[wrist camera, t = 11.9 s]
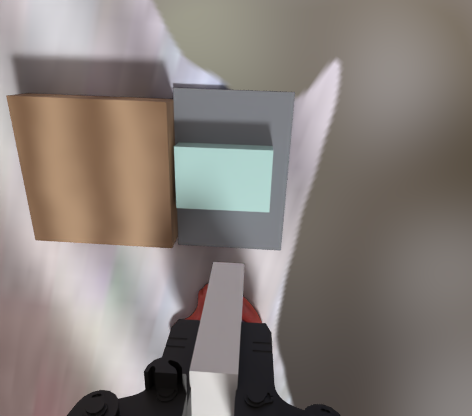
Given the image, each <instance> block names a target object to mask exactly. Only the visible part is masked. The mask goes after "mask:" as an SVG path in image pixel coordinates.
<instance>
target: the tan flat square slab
mask: <svg viewBox="0 0 472 416" xmlns="http://www.w3.org/2000/svg"><path fill="white" fill-rule="evenodd" d="M7 101H8V106H9V111H10V116H11V121H12V126H13V131H14V136H15V141H16V146H17V151H18V156H19V161H20V166H21V170H22V175H23V180H24V185H25V190H26V195H27V200H28V205H29V210H30V215H31V220H32V225H33V230H34V235H35V240H41V241H58V242H75V243H92V244H109V245H126V246H143V247H160V248H173V245H174V243H175V241H176V239H177V237H178V220H177V208H176V186H175V161H174V146H175V130H174V100H173V99H160V98H135V97H109V96H83V95H57V94H32V93H26V94H17V95H8V96H7Z"/></svg>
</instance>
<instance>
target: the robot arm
mask: <svg viewBox="0 0 472 416" xmlns="http://www.w3.org/2000/svg"><path fill="white" fill-rule="evenodd" d="M243 284H244V264H243V263H225V262H213V266H212V270H211V275H210V280H209V284H208V289H207V293H206V298H205V302H204V307H203V311H202V316H201V320H188V319H179V320H178V321H177V322H176V323H175V324H174V325H173V326H172V328H171V331H170V334H169V337H168V340H167V343H166V347H165V349H164V353H163V356H162V357H161V358H159V359H156V360H154V361H153V362H151V363H150V364H149V365H148V366H147V367H146V369H145V371H144V378H145V389H146V390H144V391H143V392H141V393H139V394H136V395H133V396H129V397H125V398H120V399H118V398H117V397H116V395H115V394H114V393H112V392H110V391H105V390H99V391H95V392H92V393H90V394H88V395H86V396H84V397H83V398H82V399H81V400H80V401H79V402H78V403H77V404H76V405H75V406H74V407H73V409H72V410H71V411H70V412H69V414H68V415H67V416H340V414H339V413H338V412H336V411H335V410H334V409H332V408H331V407H328V406H326V405H322V404H314V405H311V406H308V407H307V408H306V409H305V410H302V409H299V408H296V407H294V406H292V405H290V404H288V403H286V402H285V401H284V400H282V399H281V397H280V396H279V395H278V394H277V392H276V390H275V385H274V371H273V354H272V337H271V331H270V330H269V328H268V326H267V325H266V323H251V322H242V306H243Z"/></svg>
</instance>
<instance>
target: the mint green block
mask: <svg viewBox="0 0 472 416" xmlns="http://www.w3.org/2000/svg"><path fill="white" fill-rule="evenodd" d="M174 161H175V186H176V208H187V209H207V210H228V211H249V212H269V210H270V195H271V180H272V165H273V146H261V145H235V144H210V143H184V142H178V143H177V144H176V145H175V146H174Z"/></svg>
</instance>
